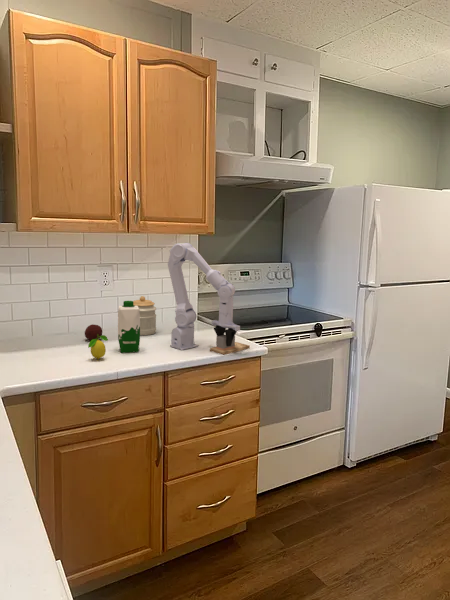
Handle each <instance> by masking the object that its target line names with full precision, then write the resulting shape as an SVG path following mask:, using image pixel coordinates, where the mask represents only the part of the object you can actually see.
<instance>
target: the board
mask: <svg viewBox="0 0 450 600" xmlns="http://www.w3.org/2000/svg"><path fill="white" fill-rule="evenodd" d="M250 346H251V345H249V344H245V343H242V342H238V341H235V347H234V348H230V349H226V350H220V349H217V348H216V346H214V347H210V348H209V352H212V353H216V354H219V355H224V356H225V355H228V354H233V353H236V352H240V351H243V350H244V349H245V350H249V349H250V348H251V347H250ZM248 348H249V349H248ZM245 350H244V351H245Z"/></svg>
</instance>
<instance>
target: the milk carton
mask: <svg viewBox="0 0 450 600" xmlns="http://www.w3.org/2000/svg"><path fill="white" fill-rule="evenodd" d="M133 301H134V300H123V305H118V311H117V340H118V345H119V350H120V353H121V354H124V353H126V354H127V353H139V350H140V343H141V335H140V311H139V307H138V306H134V305H133Z"/></svg>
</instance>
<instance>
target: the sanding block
mask: <svg viewBox="0 0 450 600" xmlns="http://www.w3.org/2000/svg"><path fill="white" fill-rule="evenodd" d="M235 342H236V335H235V336H234V338H233V341H232V344H231V346H227V345H226V334H224V335H222V336H217V335H216V343H215V344H216V346H215V347H216V348H217V349H220V350H226V349H230V348H234V347H235Z"/></svg>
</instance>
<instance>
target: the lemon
mask: <svg viewBox="0 0 450 600" xmlns="http://www.w3.org/2000/svg"><path fill="white" fill-rule="evenodd" d="M99 337H100V338H99V339H92V340H89V342H88V348H90V354H91V356H92V357H93V358H95V359H96V360H100V358H101V359H102V358H103V357H104V356H105V355H106V352H107V349H106V345H105V344H104V342H103V341H105V342H106V341H107V342H108V341H109V339H108V337H107V335H105V334H102V335H101V336H99ZM100 339H101V340H100ZM102 340H103V341H102Z"/></svg>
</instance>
